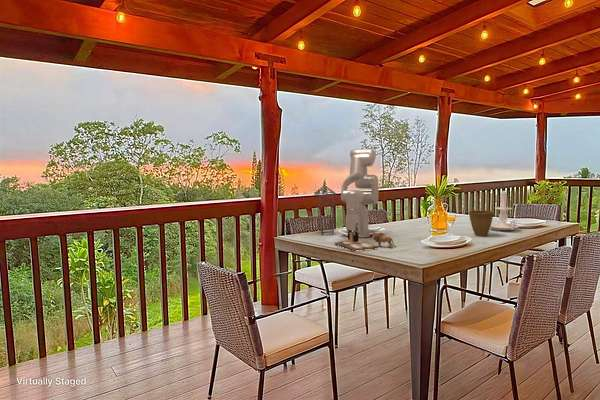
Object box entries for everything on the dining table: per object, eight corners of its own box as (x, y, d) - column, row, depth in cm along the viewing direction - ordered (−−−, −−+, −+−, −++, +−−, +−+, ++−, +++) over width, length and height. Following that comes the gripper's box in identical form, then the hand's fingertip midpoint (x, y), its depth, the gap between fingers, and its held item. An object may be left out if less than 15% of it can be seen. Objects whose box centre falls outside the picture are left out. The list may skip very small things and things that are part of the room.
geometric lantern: (338, 235, 287) (336, 186, 283) (316, 236, 288) (313, 187, 284) (337, 231, 303) (334, 184, 299) (316, 232, 303) (313, 185, 299)
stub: (359, 241, 256) (359, 230, 255) (363, 242, 251) (363, 232, 250) (342, 243, 251) (342, 232, 250) (346, 244, 247) (346, 233, 246)
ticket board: (356, 241, 263) (356, 238, 263) (377, 249, 241) (377, 245, 241) (334, 244, 257) (334, 241, 256) (354, 252, 235) (354, 248, 234)
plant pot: (488, 233, 278) (488, 210, 276) (496, 237, 263) (496, 213, 262) (465, 233, 280) (465, 210, 278) (472, 237, 265) (473, 213, 263)
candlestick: (500, 234, 274) (501, 192, 271) (481, 228, 298) (482, 190, 295) (529, 232, 275) (530, 191, 272) (508, 226, 300) (509, 189, 297)
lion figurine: (371, 247, 246) (370, 232, 245) (373, 245, 251) (372, 231, 250) (395, 248, 240) (395, 233, 239) (397, 246, 245) (397, 232, 244)
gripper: (340, 210, 256) (341, 238, 257) (354, 213, 240) (355, 243, 242) (350, 209, 259) (351, 237, 260) (365, 212, 243) (365, 242, 244)
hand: (353, 240), depth 251 cm, fingers open, 6 cm apart
